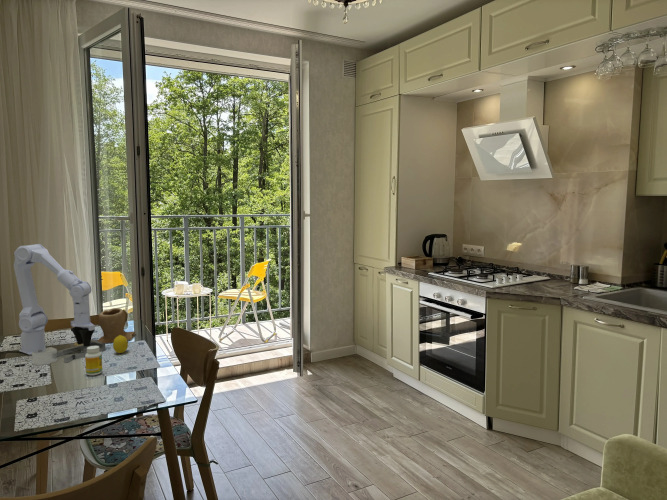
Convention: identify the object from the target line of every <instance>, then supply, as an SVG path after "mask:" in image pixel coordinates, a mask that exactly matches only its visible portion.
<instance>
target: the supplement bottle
mask: <svg viewBox="0 0 667 500" xmlns="http://www.w3.org/2000/svg"><path fill="white" fill-rule="evenodd" d="M86 351H87V352H88V353H87V354H86V355H85V357H84V358H85V359H84V360H85V361H84V362H85V373H86V375H87V376H97V375H99V374H102V373H103V354H102V352H99V346H90V347H88V348H86Z"/></svg>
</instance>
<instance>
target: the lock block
mask: <svg viewBox="0 0 667 500" xmlns="http://www.w3.org/2000/svg"><path fill="white" fill-rule="evenodd" d="M57 351H58V348H55V347H52V346H49V347H46V348H45V349H40V350H36V351H32V354H31V359H32V362H31V363H32V365H34V366H37V367H40V366H44V365H48V364H53V363H55V362H57V361H58V356H57Z"/></svg>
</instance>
